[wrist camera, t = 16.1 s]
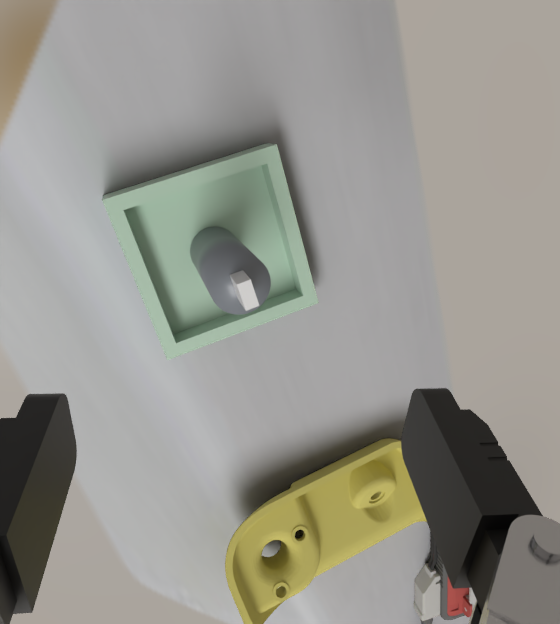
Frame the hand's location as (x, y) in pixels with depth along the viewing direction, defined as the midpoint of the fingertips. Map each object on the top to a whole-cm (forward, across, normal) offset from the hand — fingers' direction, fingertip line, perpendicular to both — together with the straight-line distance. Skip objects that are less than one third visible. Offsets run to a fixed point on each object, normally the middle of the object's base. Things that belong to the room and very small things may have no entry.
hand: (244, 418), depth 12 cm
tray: (+27, +1, +8) cm, 28 cm away
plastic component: (+24, -9, +33) cm, 41 cm away
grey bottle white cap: (+26, +1, +8) cm, 27 cm away
